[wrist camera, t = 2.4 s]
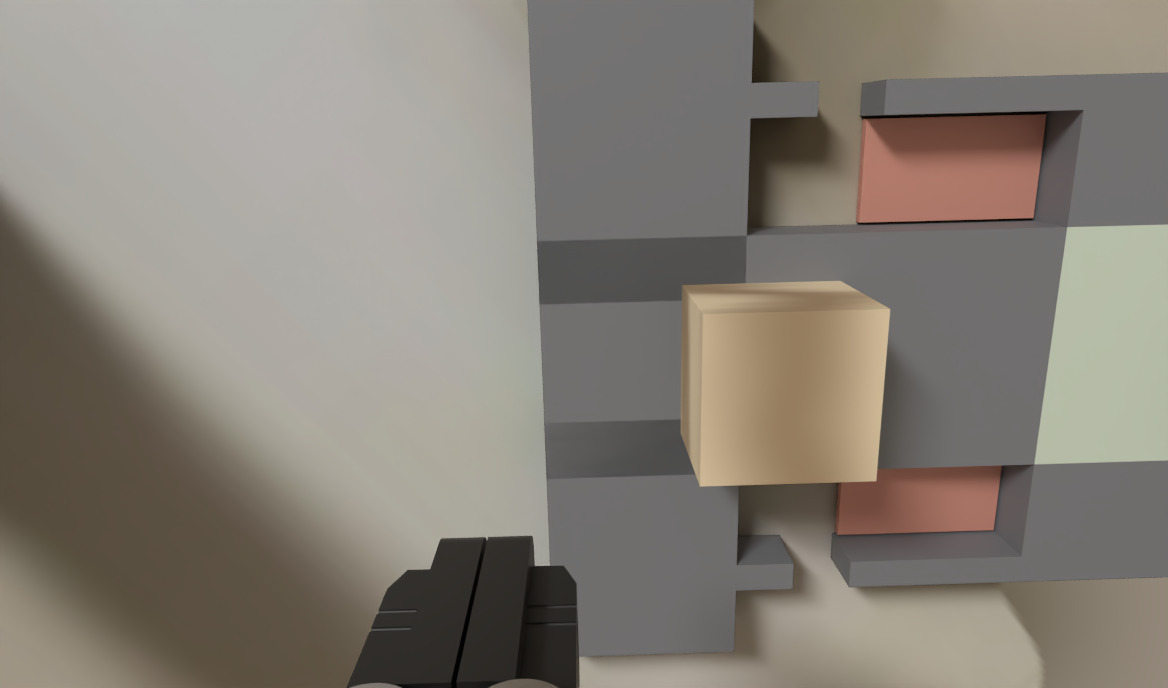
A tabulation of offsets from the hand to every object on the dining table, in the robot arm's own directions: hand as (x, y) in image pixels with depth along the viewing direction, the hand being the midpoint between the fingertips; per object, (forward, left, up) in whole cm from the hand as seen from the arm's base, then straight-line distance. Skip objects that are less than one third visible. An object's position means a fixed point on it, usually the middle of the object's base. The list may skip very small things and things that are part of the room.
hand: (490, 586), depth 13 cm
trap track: (+12, 0, -15) cm, 19 cm away
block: (+7, 0, -13) cm, 15 cm away
